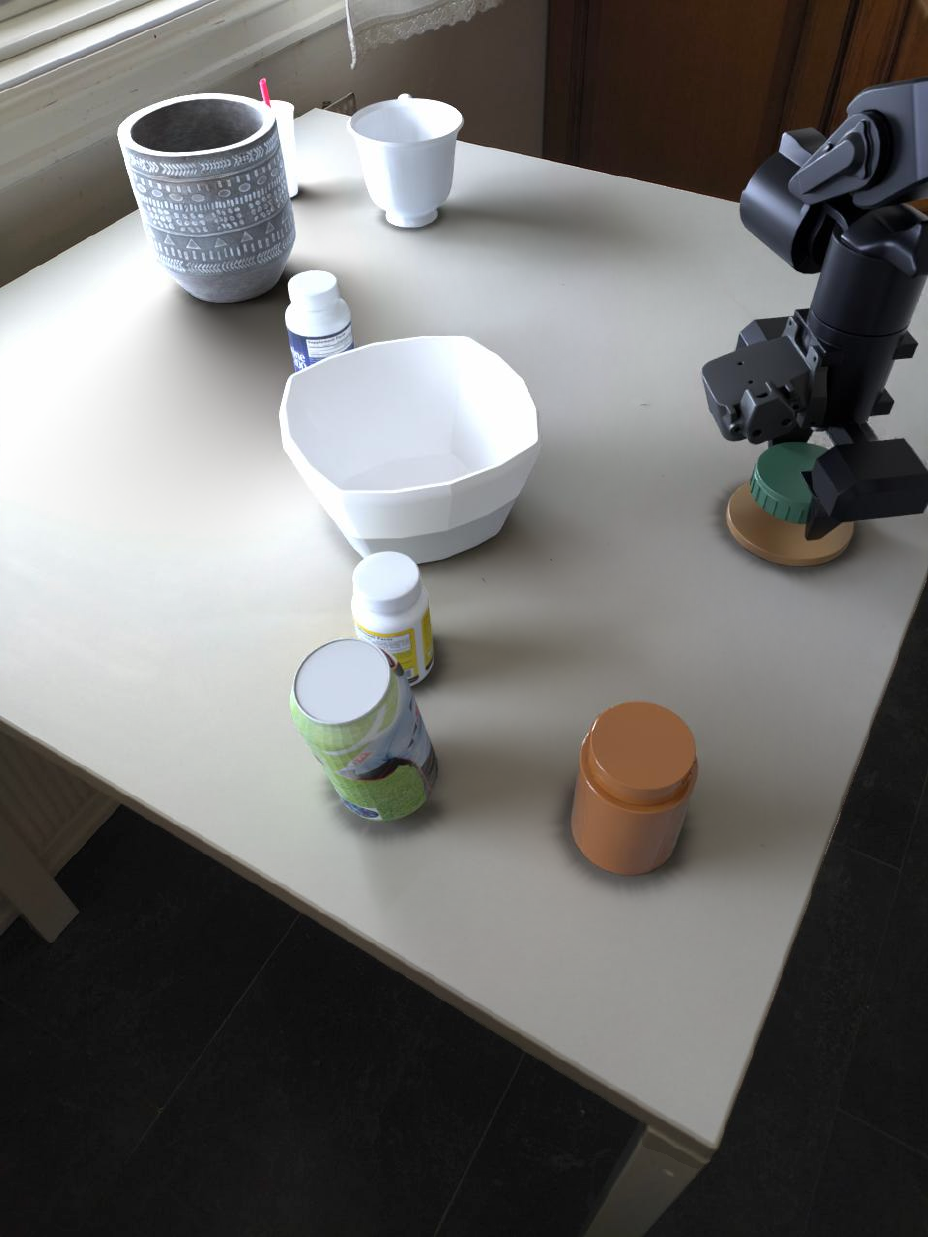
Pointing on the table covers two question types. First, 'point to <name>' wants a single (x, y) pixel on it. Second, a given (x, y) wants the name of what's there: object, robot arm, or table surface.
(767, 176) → the robot arm
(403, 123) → the teacup
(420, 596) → the supplement bottle
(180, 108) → the planter
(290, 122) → the cup
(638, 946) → the table surface
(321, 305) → the pill bottle
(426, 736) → the beverage can
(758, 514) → the coaster
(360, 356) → the bowl
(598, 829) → the jam jar
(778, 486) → the jar lid
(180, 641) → the table surface
